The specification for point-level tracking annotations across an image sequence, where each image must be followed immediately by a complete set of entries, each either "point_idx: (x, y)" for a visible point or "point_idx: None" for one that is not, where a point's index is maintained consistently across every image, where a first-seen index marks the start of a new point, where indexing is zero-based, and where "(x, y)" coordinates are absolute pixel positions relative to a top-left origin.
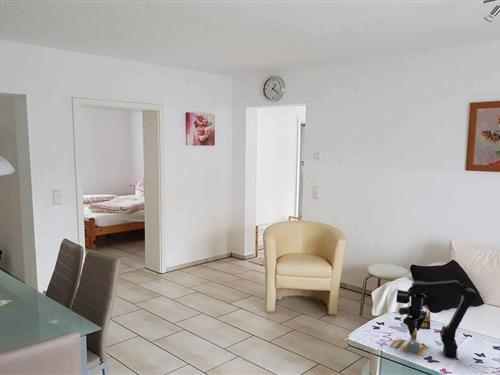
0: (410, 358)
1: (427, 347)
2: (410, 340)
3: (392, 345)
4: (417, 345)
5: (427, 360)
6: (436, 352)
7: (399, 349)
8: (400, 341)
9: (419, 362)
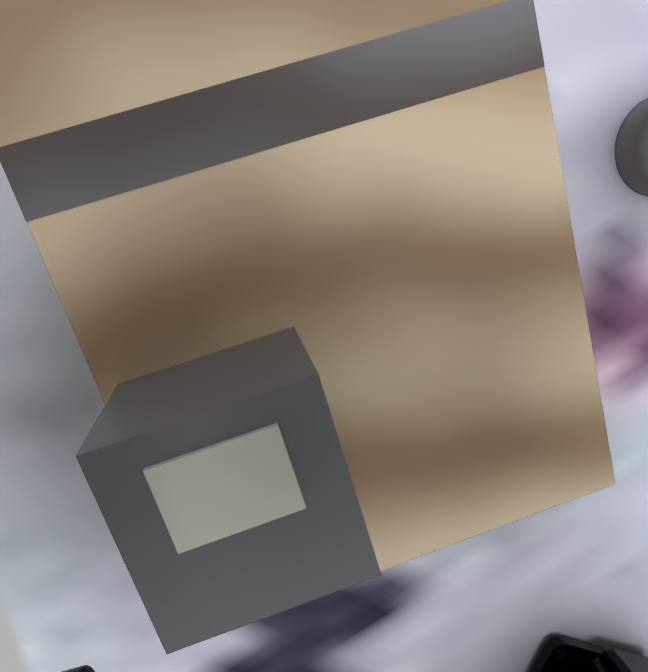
0: (36, 507)
1: (585, 464)
2: (318, 383)
3: (65, 35)
4: (222, 627)
5: (238, 655)
6: (584, 561)
7: (50, 250)
8: (404, 28)
9: (61, 648)
